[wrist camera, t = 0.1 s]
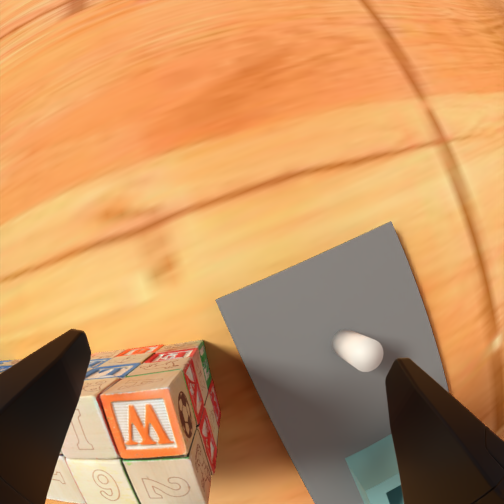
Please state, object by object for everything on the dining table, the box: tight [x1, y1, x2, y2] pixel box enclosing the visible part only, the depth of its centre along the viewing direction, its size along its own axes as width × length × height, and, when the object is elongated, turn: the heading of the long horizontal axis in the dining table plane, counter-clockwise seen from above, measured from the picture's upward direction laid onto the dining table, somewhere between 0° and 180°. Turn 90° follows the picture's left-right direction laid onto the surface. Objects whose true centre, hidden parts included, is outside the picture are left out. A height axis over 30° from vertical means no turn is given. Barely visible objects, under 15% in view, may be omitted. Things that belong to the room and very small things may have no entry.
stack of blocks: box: [0, 340, 221, 504], centre depth 16 cm, size 21×6×12 cm, turn 101°
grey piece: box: [216, 222, 449, 504], centre depth 20 cm, size 24×14×6 cm, turn 24°
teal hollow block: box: [345, 434, 404, 504], centre depth 18 cm, size 6×6×5 cm
